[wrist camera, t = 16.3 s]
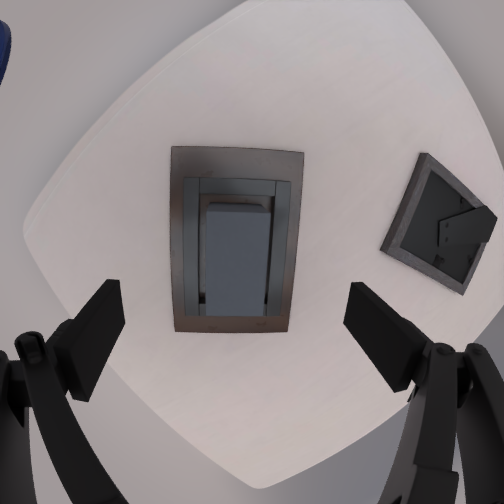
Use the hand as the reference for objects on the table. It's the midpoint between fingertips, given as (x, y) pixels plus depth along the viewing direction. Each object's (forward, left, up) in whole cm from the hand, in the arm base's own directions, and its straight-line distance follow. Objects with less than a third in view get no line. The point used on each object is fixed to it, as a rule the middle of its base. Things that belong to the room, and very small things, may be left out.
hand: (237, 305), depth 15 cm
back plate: (+1, -1, -15) cm, 15 cm away
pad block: (0, -1, -14) cm, 14 cm away
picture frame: (+29, +2, -15) cm, 33 cm away
